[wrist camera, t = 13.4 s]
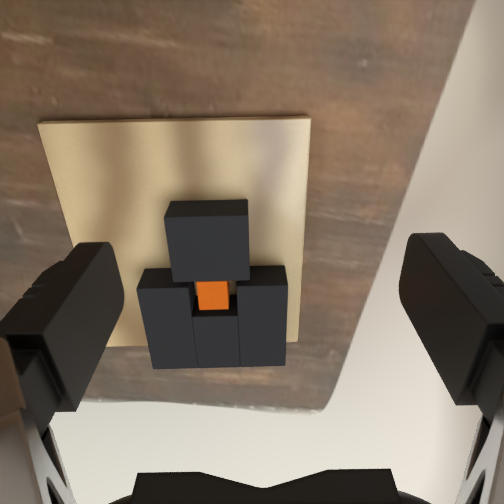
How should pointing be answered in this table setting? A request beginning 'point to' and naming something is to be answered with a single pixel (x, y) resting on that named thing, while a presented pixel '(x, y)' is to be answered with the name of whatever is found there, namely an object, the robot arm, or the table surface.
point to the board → (181, 191)
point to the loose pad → (209, 246)
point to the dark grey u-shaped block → (215, 321)
